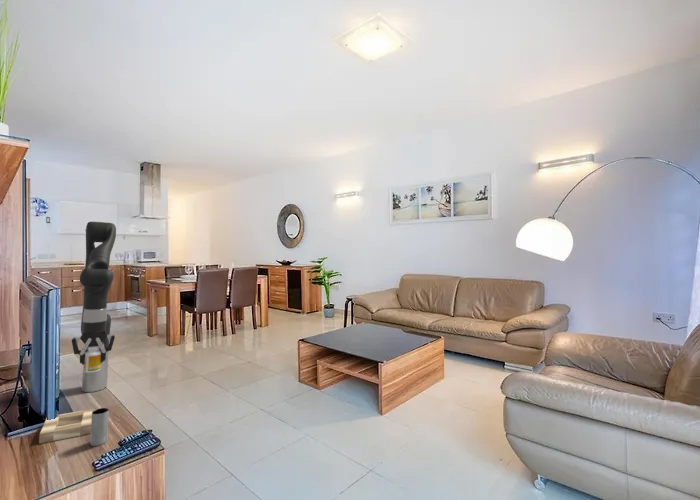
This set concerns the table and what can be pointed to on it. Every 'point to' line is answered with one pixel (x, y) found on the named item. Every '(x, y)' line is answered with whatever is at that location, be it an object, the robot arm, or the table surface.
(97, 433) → the planter
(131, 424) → the table surface
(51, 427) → the holder
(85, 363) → the supplement bottle
